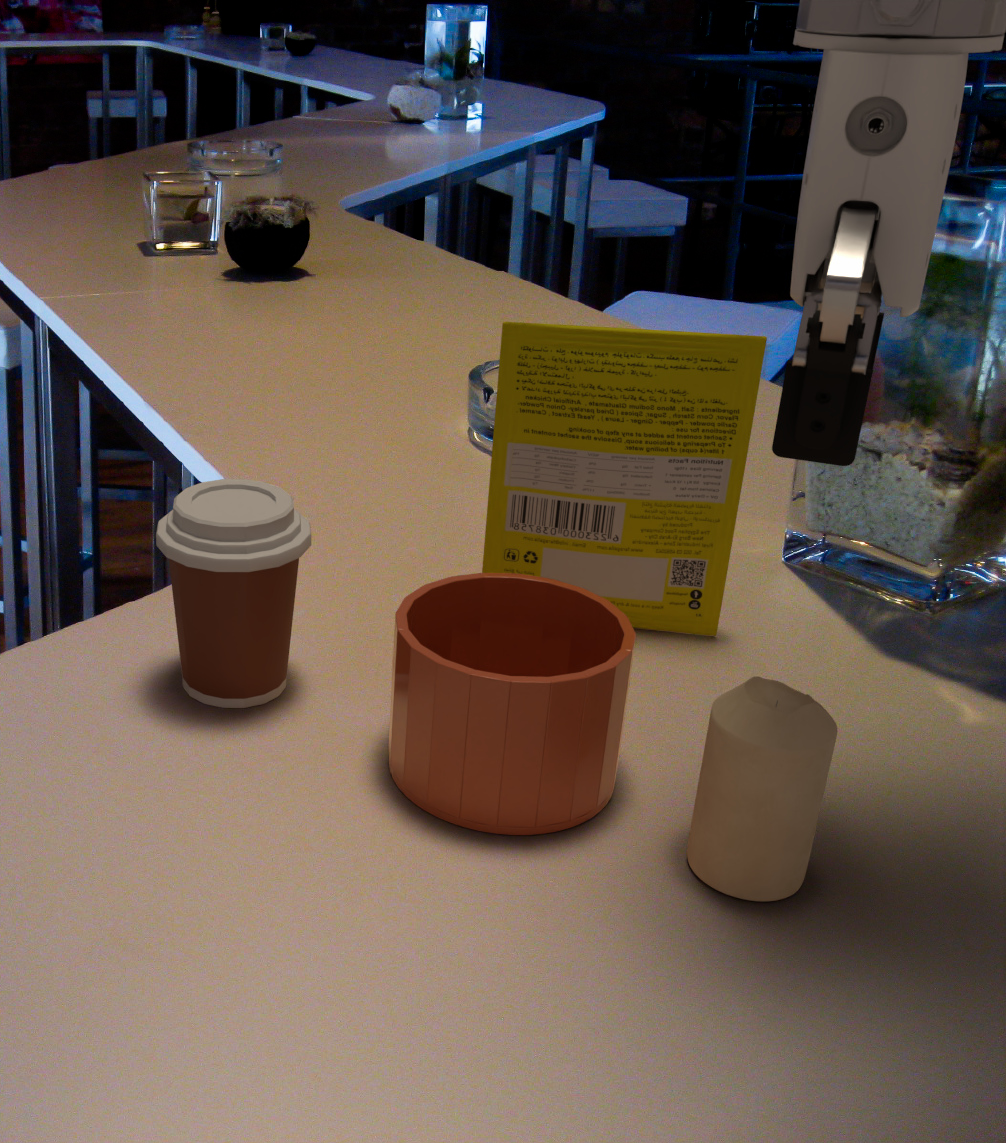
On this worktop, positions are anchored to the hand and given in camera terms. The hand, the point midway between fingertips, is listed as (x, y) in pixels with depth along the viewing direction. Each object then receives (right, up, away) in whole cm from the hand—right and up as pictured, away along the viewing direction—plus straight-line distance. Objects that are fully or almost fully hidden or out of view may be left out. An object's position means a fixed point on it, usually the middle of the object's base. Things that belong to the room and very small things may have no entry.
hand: (821, 424), depth 59 cm
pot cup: (-12, -17, +14) cm, 25 cm away
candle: (-1, -21, +6) cm, 22 cm away
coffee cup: (-26, -13, +23) cm, 37 cm away
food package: (-2, -10, +29) cm, 31 cm away
